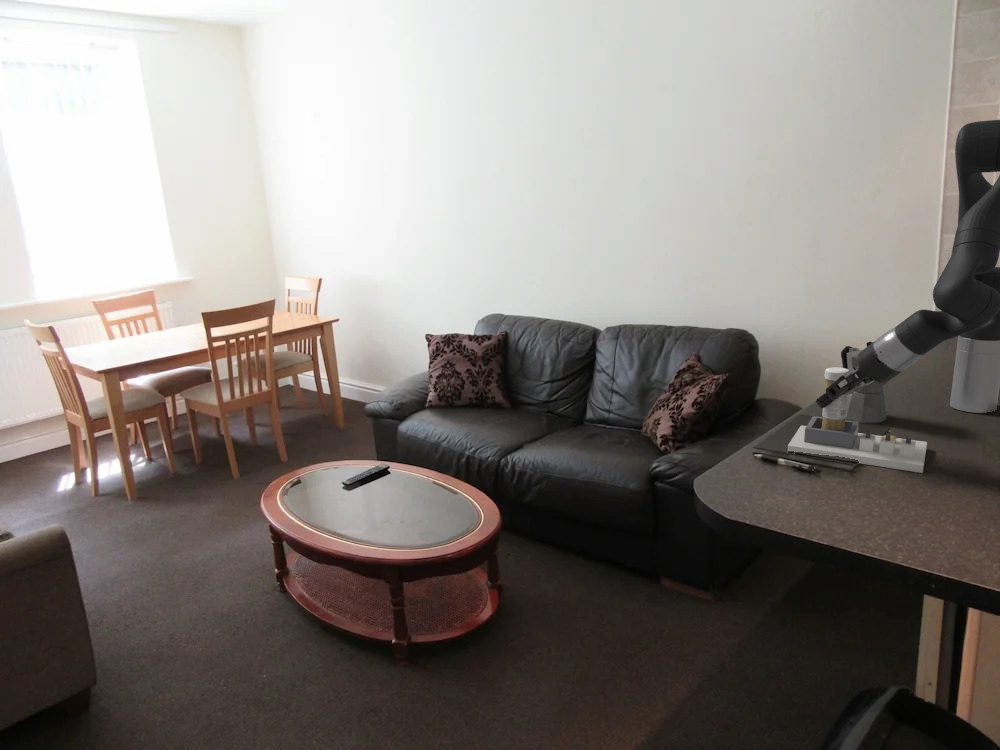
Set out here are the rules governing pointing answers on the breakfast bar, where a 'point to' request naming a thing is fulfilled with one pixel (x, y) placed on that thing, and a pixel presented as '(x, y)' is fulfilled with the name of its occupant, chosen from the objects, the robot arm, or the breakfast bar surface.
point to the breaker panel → (864, 454)
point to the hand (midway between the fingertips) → (825, 401)
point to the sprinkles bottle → (835, 403)
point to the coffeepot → (863, 394)
